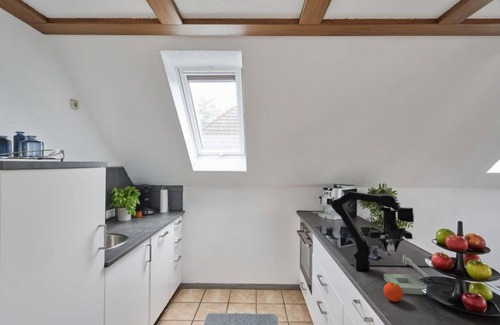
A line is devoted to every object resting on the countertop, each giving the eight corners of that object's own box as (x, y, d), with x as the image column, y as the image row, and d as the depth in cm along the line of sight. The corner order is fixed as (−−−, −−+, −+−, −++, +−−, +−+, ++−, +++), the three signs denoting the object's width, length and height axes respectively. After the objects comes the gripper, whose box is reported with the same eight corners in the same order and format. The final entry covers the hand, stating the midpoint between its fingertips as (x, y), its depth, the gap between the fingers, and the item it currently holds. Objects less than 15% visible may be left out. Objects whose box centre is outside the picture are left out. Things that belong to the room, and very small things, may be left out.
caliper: (402, 264, 144) (402, 252, 144) (404, 264, 144) (404, 252, 144) (428, 280, 123) (428, 267, 123) (431, 280, 123) (430, 267, 123)
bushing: (387, 256, 128) (387, 241, 128) (384, 253, 132) (384, 239, 132) (396, 256, 127) (395, 241, 127) (392, 253, 131) (392, 239, 131)
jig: (396, 293, 111) (396, 287, 111) (383, 278, 125) (383, 273, 125) (426, 294, 110) (426, 288, 110) (410, 279, 124) (410, 274, 124)
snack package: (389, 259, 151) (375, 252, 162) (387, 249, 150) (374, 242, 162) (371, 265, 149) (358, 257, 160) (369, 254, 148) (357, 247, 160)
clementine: (399, 295, 109) (398, 278, 109) (409, 304, 102) (409, 286, 102) (380, 296, 109) (379, 279, 109) (389, 305, 102) (389, 287, 102)
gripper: (375, 223, 123) (376, 257, 122) (418, 224, 120) (418, 258, 120) (367, 218, 134) (368, 249, 134) (406, 219, 131) (407, 250, 131)
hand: (390, 251), depth 129 cm, fingers closed on bushing, 4 cm apart
